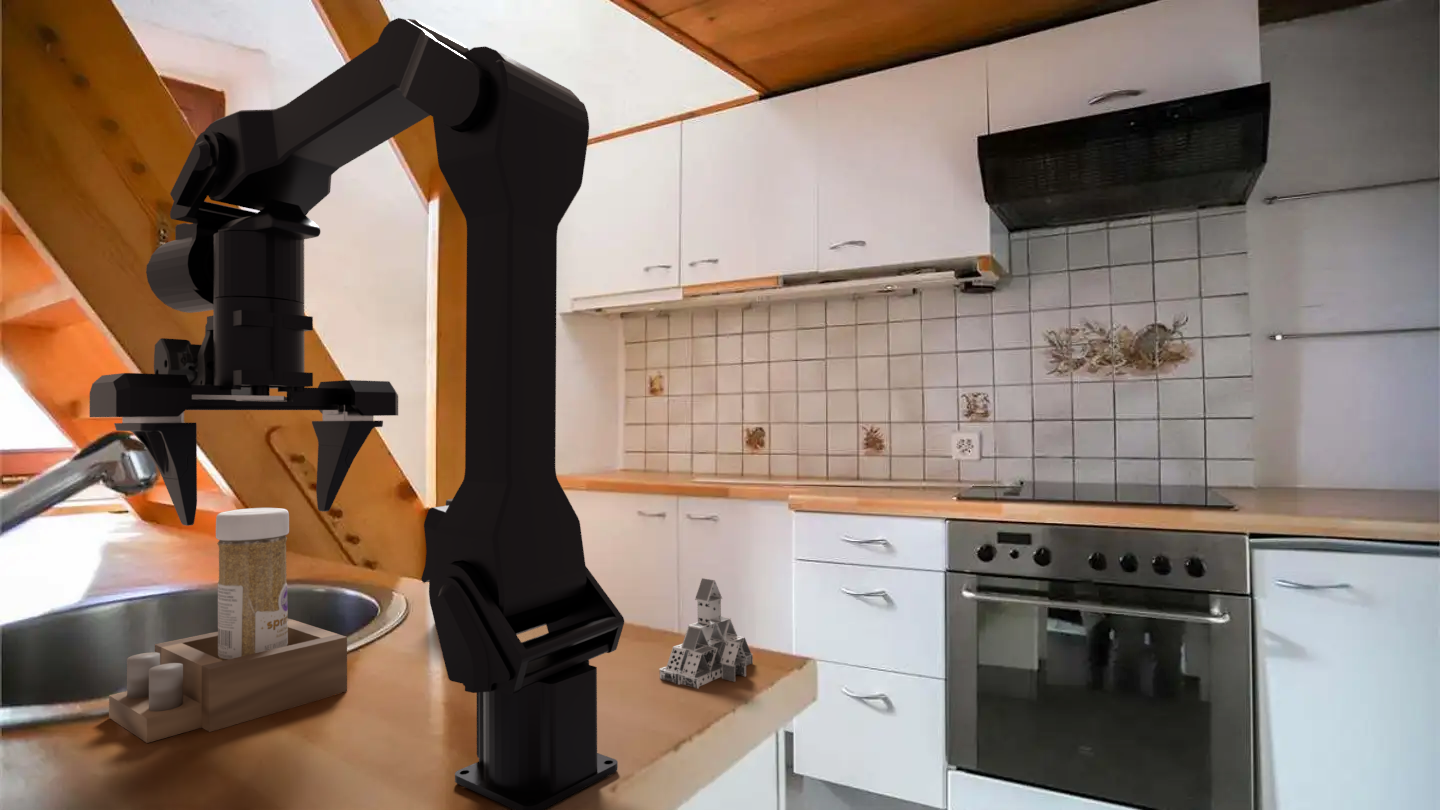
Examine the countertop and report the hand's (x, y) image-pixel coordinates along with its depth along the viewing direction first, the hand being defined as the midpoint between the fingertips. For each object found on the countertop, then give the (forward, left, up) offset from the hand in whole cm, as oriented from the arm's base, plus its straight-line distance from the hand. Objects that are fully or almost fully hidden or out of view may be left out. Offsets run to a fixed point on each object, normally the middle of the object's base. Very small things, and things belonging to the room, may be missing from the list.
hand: (260, 517), depth 57 cm
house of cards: (-26, -22, -13) cm, 36 cm away
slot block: (0, 0, -13) cm, 13 cm away
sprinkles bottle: (0, 0, -13) cm, 13 cm away
